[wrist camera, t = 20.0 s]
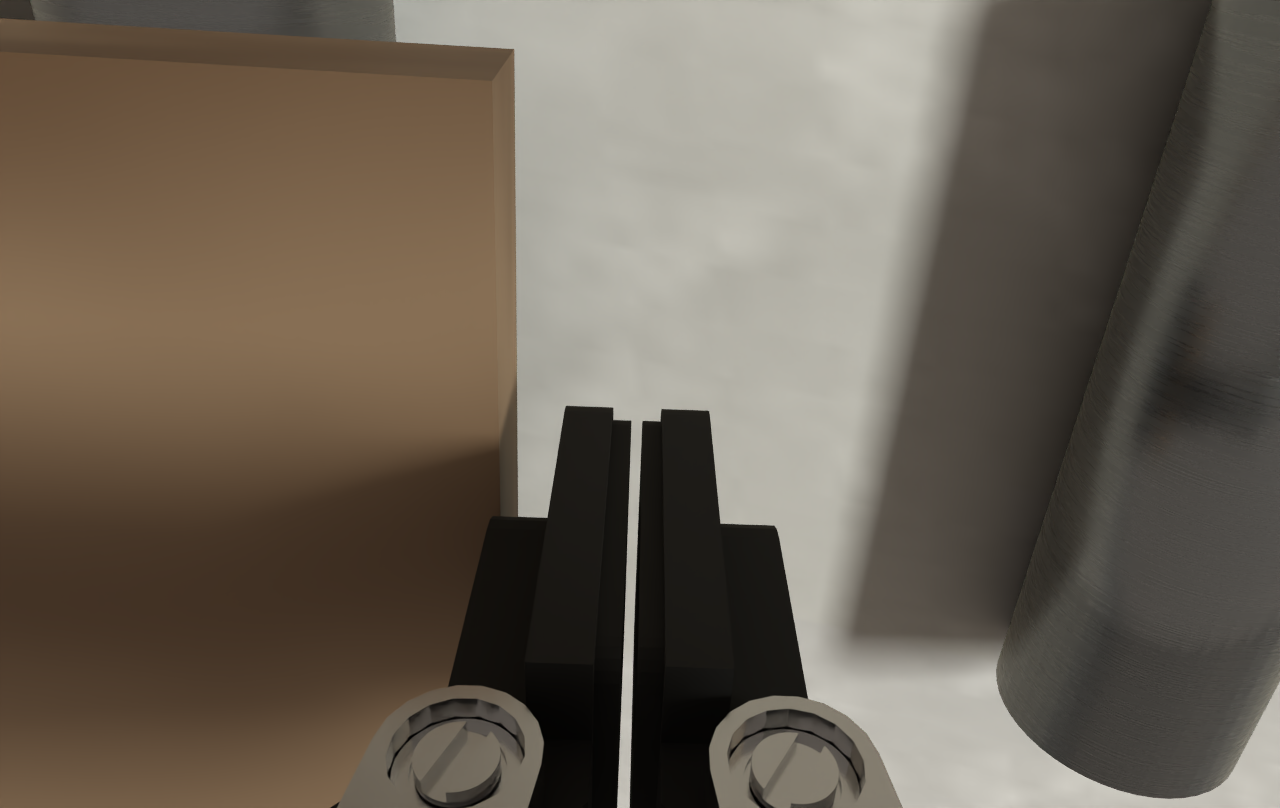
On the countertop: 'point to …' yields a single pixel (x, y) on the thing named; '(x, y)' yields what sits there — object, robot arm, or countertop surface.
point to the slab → (242, 401)
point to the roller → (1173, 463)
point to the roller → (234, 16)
